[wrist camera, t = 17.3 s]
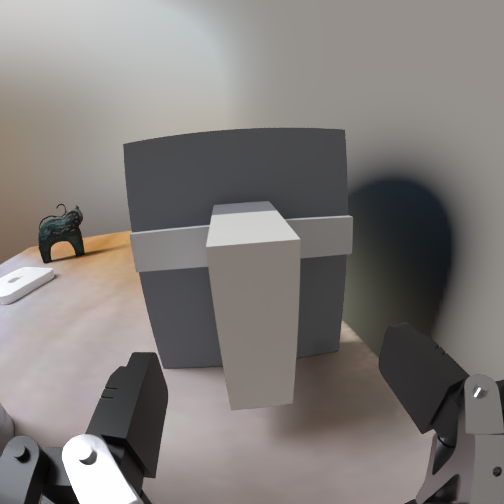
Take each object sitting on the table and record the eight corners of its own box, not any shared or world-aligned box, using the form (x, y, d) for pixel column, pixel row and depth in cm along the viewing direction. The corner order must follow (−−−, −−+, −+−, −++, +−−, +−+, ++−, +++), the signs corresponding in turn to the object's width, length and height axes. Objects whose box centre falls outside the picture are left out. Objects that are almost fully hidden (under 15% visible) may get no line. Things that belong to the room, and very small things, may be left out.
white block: (231, 410, 19) (205, 246, 14) (227, 331, 29) (213, 204, 24) (292, 403, 20) (300, 239, 14) (272, 326, 30) (268, 200, 25)
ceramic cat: (89, 251, 90) (80, 199, 84) (87, 255, 84) (78, 200, 79) (45, 260, 81) (35, 209, 76) (41, 265, 76) (30, 211, 70)
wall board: (158, 385, 27) (110, 140, 20) (169, 345, 35) (138, 148, 28) (347, 366, 29) (359, 125, 21) (325, 330, 37) (327, 135, 29)
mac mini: (-20, 298, 48) (-23, 290, 47) (24, 274, 68) (22, 266, 68) (7, 307, 44) (4, 297, 44) (58, 276, 65) (56, 268, 64)
